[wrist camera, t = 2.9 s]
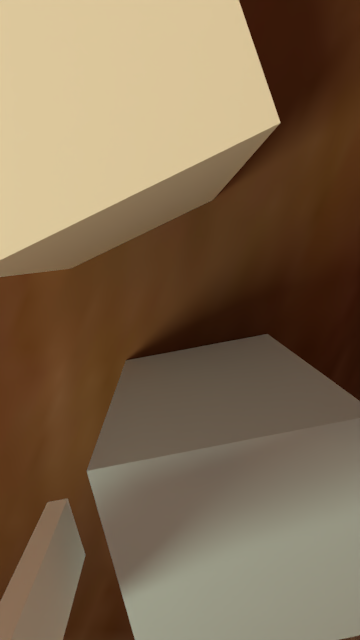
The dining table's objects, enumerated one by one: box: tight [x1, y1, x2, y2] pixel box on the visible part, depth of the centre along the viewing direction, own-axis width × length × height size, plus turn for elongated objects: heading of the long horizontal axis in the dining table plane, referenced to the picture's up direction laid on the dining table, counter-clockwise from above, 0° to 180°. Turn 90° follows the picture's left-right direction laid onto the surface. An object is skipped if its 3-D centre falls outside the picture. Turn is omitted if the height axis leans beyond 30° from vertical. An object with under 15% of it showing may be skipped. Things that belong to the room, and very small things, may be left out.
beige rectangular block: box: [0, 0, 280, 277], centre depth 10 cm, size 8×8×9 cm
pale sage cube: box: [87, 334, 360, 640], centre depth 14 cm, size 8×8×9 cm
